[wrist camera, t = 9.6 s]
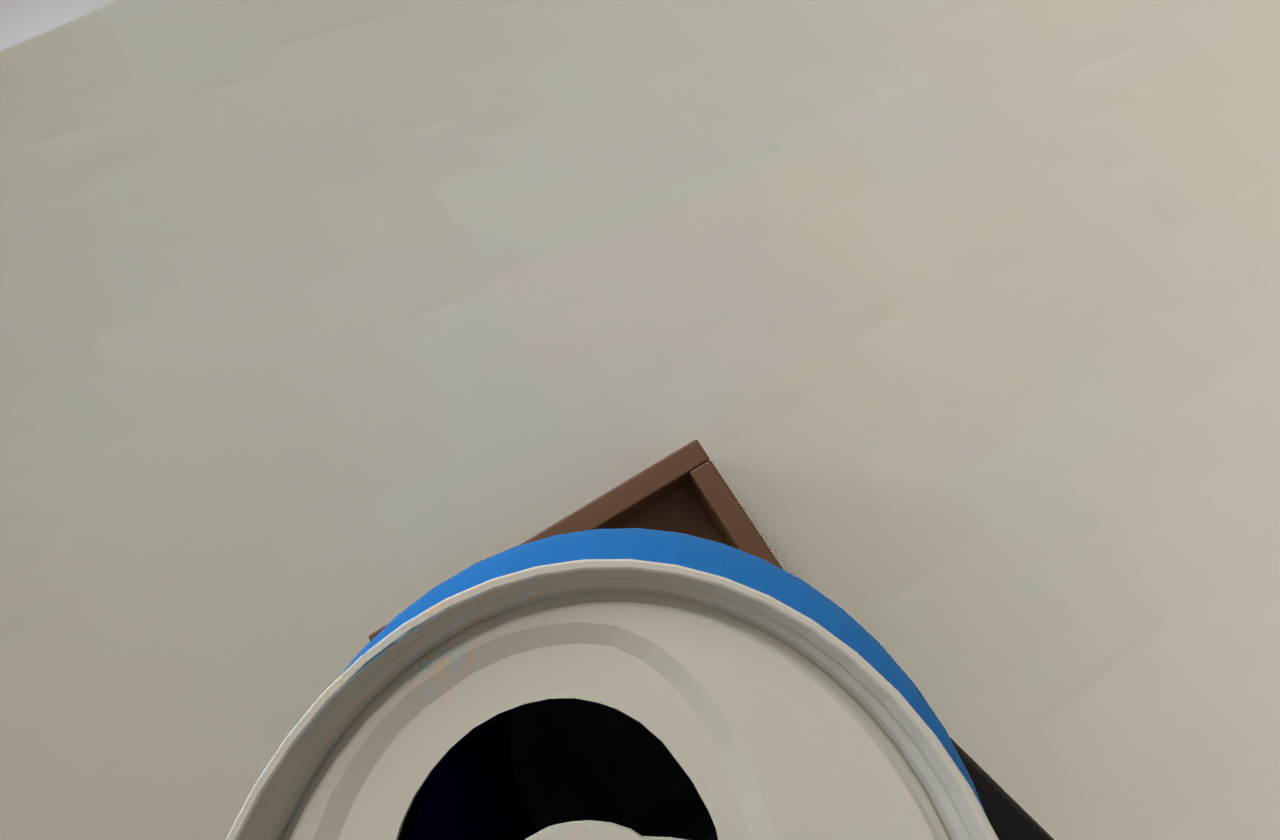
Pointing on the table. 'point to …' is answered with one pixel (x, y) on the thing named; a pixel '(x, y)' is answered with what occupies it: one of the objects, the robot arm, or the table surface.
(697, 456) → the tray
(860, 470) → the table surface
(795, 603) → the beverage can
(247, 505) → the table surface
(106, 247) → the table surface
